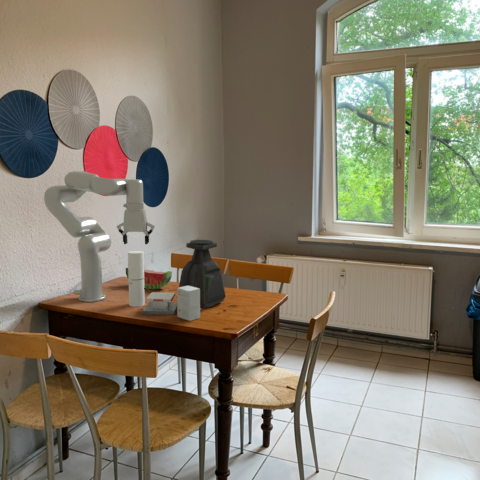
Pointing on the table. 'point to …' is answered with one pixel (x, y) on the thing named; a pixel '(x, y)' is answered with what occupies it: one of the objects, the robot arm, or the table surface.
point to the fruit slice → (155, 279)
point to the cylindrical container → (136, 278)
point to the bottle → (203, 274)
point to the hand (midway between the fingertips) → (136, 243)
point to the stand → (160, 304)
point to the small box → (188, 302)
